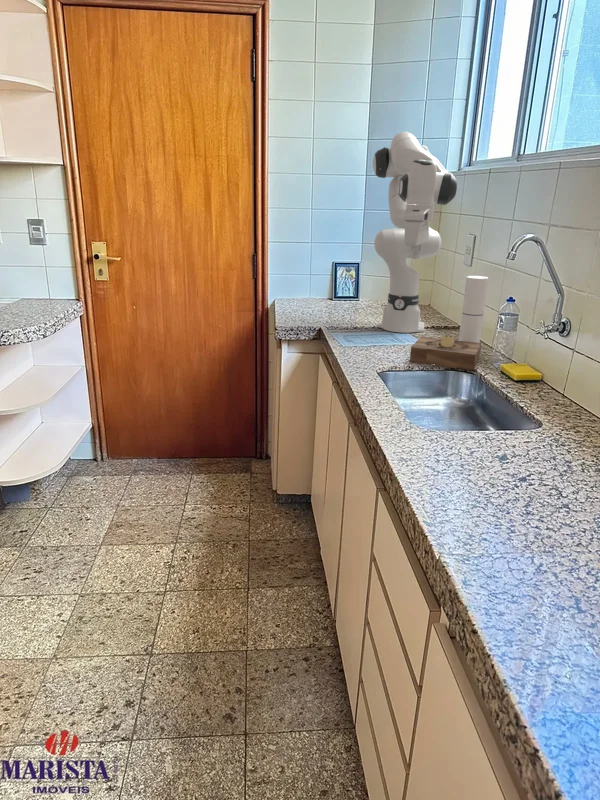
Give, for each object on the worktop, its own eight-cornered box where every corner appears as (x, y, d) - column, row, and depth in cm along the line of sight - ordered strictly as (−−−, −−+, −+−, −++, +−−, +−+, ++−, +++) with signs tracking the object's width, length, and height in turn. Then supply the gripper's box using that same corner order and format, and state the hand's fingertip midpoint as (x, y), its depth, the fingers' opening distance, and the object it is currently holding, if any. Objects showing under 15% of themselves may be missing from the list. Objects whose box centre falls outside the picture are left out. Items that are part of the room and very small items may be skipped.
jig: (419, 350, 192) (421, 336, 191) (479, 357, 185) (481, 343, 183) (409, 361, 178) (411, 346, 177) (473, 370, 171) (475, 354, 169)
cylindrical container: (456, 349, 194) (465, 277, 186) (459, 345, 201) (467, 275, 192) (477, 352, 192) (487, 279, 183) (479, 347, 198) (489, 276, 190)
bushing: (439, 357, 184) (442, 333, 181) (451, 358, 183) (455, 335, 180) (438, 360, 180) (441, 336, 177) (450, 362, 179) (454, 338, 176)
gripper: (416, 213, 187) (412, 255, 191) (402, 214, 169) (398, 260, 174) (435, 214, 184) (431, 256, 189) (423, 215, 167) (418, 262, 171)
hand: (415, 258), depth 181 cm, fingers closed
